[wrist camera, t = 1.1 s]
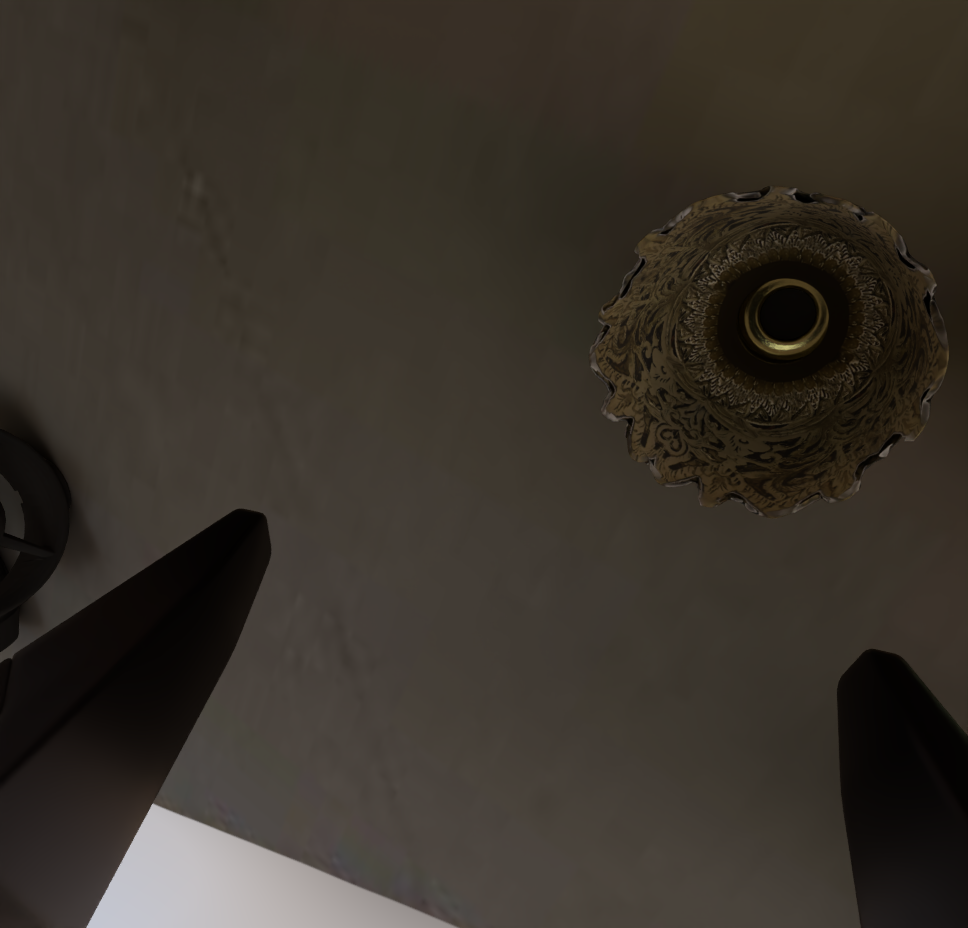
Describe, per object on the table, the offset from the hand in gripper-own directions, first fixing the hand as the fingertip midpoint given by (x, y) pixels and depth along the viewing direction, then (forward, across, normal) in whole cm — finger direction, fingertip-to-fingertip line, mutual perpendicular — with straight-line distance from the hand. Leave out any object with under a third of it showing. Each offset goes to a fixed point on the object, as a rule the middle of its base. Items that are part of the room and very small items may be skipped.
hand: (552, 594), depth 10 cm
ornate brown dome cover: (+15, -6, +2) cm, 16 cm away
